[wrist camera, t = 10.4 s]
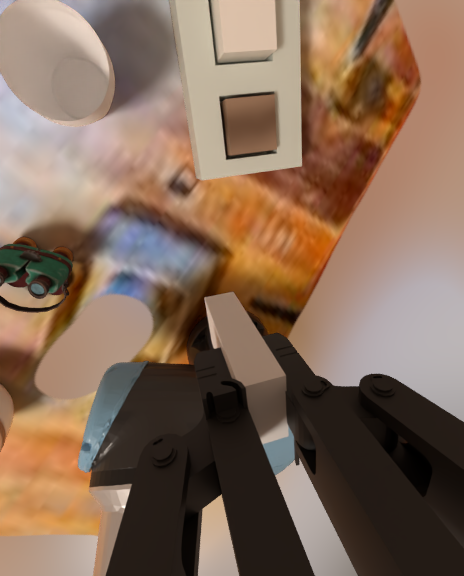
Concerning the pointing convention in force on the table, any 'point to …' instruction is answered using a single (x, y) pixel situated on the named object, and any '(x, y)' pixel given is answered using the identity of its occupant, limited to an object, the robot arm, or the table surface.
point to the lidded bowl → (5, 414)
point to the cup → (55, 62)
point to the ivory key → (243, 29)
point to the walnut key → (249, 124)
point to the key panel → (237, 89)
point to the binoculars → (35, 271)
